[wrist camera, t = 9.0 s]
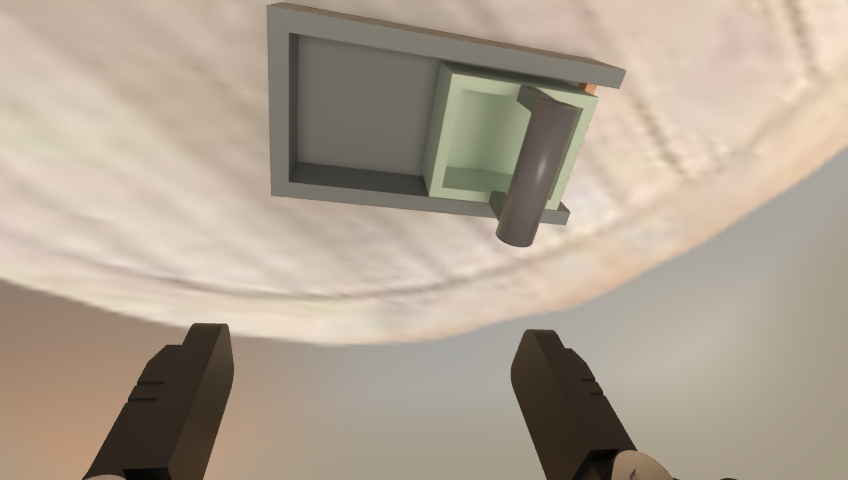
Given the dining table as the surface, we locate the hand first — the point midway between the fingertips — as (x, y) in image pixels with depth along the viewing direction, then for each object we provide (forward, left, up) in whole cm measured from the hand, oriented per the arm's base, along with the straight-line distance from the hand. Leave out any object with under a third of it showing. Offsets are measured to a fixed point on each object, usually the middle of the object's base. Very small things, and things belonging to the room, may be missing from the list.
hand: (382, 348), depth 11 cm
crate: (0, +9, -23) cm, 25 cm away
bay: (0, +5, -25) cm, 25 cm away
